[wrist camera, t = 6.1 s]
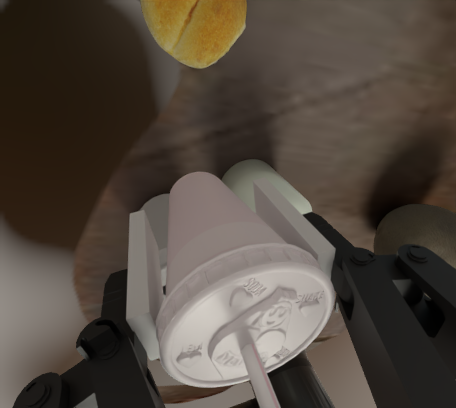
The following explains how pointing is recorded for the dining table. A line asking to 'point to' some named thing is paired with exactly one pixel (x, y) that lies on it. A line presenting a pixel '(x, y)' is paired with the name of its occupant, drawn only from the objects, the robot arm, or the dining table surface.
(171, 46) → the bread roll
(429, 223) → the cantaloupe
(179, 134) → the dining table surface
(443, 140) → the dining table surface
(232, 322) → the smoothie
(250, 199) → the sage mug
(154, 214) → the can
